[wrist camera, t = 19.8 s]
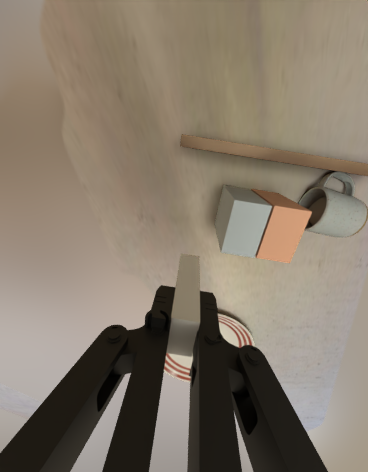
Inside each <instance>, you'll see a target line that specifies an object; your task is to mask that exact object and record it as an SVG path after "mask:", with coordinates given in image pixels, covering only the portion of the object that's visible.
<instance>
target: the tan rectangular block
mask: <svg viewBox="0 0 368 472" xmlns="http://www.w3.org/2000/svg"><path fill="white" fill-rule="evenodd" d="M251 190H252V191H253V192H254V193H256V194H257V195H258V196H259V197H261V198H262V199H263V200H265V201H266V202H267V203H269V204H270V205H271V206H272V208H271V211H270V214H269V217H268V220H267V223H266V225H265V228H264V231H263V234H262V237H261V240H260V243H259V246H258V249H257V252H256V255H255V256H256V258H261V259H267V260H274V261H280V262H286V263H290V262H291V259H292V257H293V255H294V253H295V250H296V248H297V246H298V243H299V241H300V239H301V237H302V234H303V232H304V230H305V227H306V225H307V223H308V220H309V218H310V216H311V214H312V211H310V210H308V209H306V208H304V207H303V206H301V205H299V204H297V203H295V202H293V201H291V200H290V199H288V198H286V197H284V196H282V195H280V194H279V193H274V192H268V191H262V190H255V189H251Z"/></svg>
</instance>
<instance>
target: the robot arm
mask: <svg viewBox="0 0 368 472" xmlns="http://www.w3.org/2000/svg"><path fill="white" fill-rule="evenodd" d="M166 353H169V354H175V355H182V356H188V357H192V354H193V361H192V365H191V369H190V373H189V376H190V377H191V380H190V412H189V440H188V471H187V472H242V469H241V461H240V455H239V447H238V439H237V432H236V424H235V417H234V412H235V415H236V419H237V422H238V425H239V428H240V431H241V434H242V437H243V440H244V443H245V446H246V450H247V452H248V455H249V459H250V462H251V465H252V468H253V471H254V472H328V471H327V469H326V467H325V465H324V464H323V462H322V460H321V458H320V456H319V454H318V453H317V451H316V449H315V447H314V445H313V443H312V442H311V440H310V438H309V436H308V434H307V432H306V431H305V429H304V427H303V425H302V423H301V422H300V420H299V418H298V416H297V414H296V412H295V411H294V409H293V407H292V405H291V403H290V401H289V400H288V398H287V396H286V394H285V392H284V390H283V389H282V387H281V385H280V383H279V381H278V379H277V378H276V376H275V374H274V372H273V370H272V369H271V367H270V365H269V363H268V361H267V359H266V358H265V356H264V355H263V353H262V352H261V351H260V350H259V349H258V348H256V347H254V346H252V345H244V346H242V347H241V348H239V347H237V346H234V345H232V344H231V343H229V342H227V341H226V340H225V339H224V338H223V336H222V334H221V333H220V328H219V320H218V311H217V303H216V298H215V296H214V295H213V293H210V292H203V291H200V272H199V256H192V255H186V254H181V257H180V263H179V270H178V276H177V282H176V288H175V287H169V286H162V285H161V286H160V287H159V288H158V289H157V291H156V295H155V298H154V302H153V305H152V309H151V310H150V311H149V312H148V313H147V314H146V316H145V325H144V326H143V327H141V328H138V329H134V330H127V329H126V328H125V327H123V326H122V325H111V326H109V327H107V328H106V329H104V331H102V332H101V334H100V335H99V336H98V337H97V338H96V340H95V341H94V342H93V343H92V345H91V346H90V347H89V348H88V349H87V350H86V352H85V353H84V354H83V355H82V356H81V358H80V359H79V360H78V361H77V362H76V364H75V365H74V366H73V367H72V368H71V369H70V371H69V372H68V373H67V374H66V376H65V377H64V378H63V379H62V380H61V382H60V383H59V384H58V385H57V386H56V387H55V389H54V390H53V391H52V392H51V393H50V395H49V396H48V397H47V398H46V399H45V400H44V402H43V403H42V404H41V405H40V406H39V408H38V409H37V410H36V411H35V412H34V414H33V415H32V416H31V417H30V418H29V420H28V421H27V422H26V423H25V424H24V426H23V427H22V428H21V429H20V430H19V432H18V433H17V434H16V435H15V436H14V438H13V439H12V440H11V441H10V442H9V444H8V445H7V446H6V447H5V448H4V449H3V451H2V452H1V453H0V472H70V471H71V469H72V467H73V465H74V463H75V462H76V460H77V458H78V456H79V455H80V453H81V451H82V450H83V448H84V446H85V444H86V442H87V441H88V439H89V437H90V435H91V434H92V432H93V430H94V428H95V427H96V425H97V423H98V421H99V419H100V418H101V416H102V414H103V412H104V411H105V409H106V407H107V405H108V404H109V402H110V400H111V398H112V397H113V395H114V393H115V391H116V389H117V388H118V386H119V384H120V382H121V381H122V379H123V377H124V375H125V374H127V373H131V375H130V379H129V382H128V386H127V389H126V392H125V396H124V399H123V403H122V406H121V409H120V413H119V416H118V420H117V423H116V427H115V430H114V433H113V437H112V440H111V444H110V447H109V451H108V454H107V457H106V461H105V464H104V467H103V471H102V472H149V467H150V460H151V453H152V446H153V440H154V433H155V426H156V420H157V413H158V406H159V399H160V393H161V386H162V380H163V373H164V366H165V359H166Z"/></svg>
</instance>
